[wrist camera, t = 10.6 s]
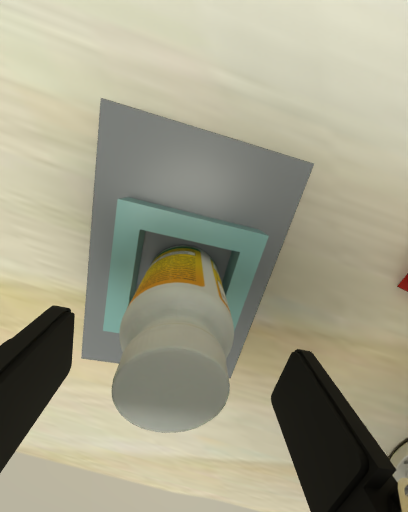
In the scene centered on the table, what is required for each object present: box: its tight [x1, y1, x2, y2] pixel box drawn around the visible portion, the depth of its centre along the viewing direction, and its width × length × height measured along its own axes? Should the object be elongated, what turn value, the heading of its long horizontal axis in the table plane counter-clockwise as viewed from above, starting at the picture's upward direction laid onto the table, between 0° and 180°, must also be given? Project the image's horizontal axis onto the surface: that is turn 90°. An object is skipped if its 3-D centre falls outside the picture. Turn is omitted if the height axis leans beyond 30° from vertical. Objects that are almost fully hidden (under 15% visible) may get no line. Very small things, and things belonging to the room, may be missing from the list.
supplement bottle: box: [112, 245, 234, 433], centre depth 11 cm, size 5×5×10 cm
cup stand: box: [81, 98, 314, 378], centre depth 15 cm, size 14×20×3 cm
